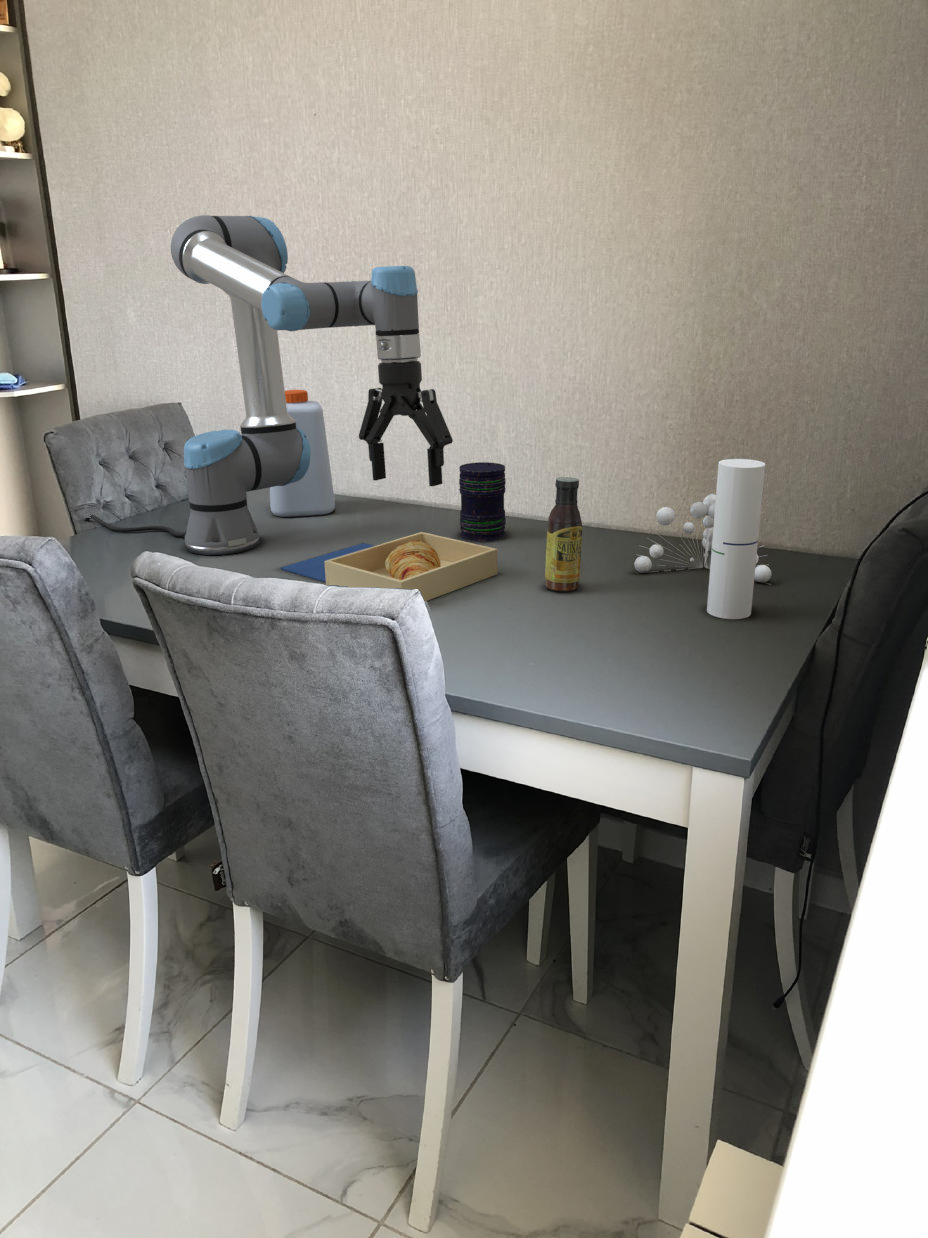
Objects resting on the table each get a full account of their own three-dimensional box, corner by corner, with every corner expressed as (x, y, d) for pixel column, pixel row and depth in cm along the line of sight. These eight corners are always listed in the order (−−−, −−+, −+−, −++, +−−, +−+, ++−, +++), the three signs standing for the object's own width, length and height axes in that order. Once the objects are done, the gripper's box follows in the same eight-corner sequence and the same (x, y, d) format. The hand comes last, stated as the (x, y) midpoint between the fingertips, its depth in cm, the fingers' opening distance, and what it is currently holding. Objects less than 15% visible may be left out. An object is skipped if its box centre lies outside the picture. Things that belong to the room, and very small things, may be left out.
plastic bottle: (271, 519, 224) (261, 396, 214) (270, 504, 238) (260, 388, 228) (336, 515, 227) (329, 393, 217) (332, 500, 241) (324, 386, 231)
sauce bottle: (556, 595, 171) (559, 484, 164) (538, 585, 176) (539, 477, 169) (587, 589, 173) (591, 480, 167) (568, 580, 179) (571, 473, 172)
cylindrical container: (743, 622, 157) (757, 469, 148) (700, 614, 160) (712, 465, 152) (756, 609, 163) (770, 461, 154) (714, 602, 166) (726, 457, 157)
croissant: (436, 612, 171) (456, 574, 169) (385, 591, 168) (405, 551, 166) (422, 574, 191) (440, 539, 189) (376, 554, 188) (394, 518, 186)
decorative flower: (609, 555, 193) (612, 485, 188) (713, 547, 198) (718, 479, 193) (658, 594, 170) (663, 516, 166) (774, 584, 175) (782, 508, 170)
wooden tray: (325, 587, 177) (324, 561, 175) (422, 555, 195) (421, 531, 193) (402, 610, 165) (401, 582, 163) (497, 574, 183) (497, 548, 181)
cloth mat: (280, 569, 187) (280, 567, 187) (363, 544, 203) (363, 542, 203) (329, 583, 179) (328, 581, 179) (411, 556, 194) (411, 554, 194)
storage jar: (490, 544, 202) (490, 473, 197) (451, 538, 207) (449, 469, 202) (513, 533, 210) (514, 464, 205) (475, 527, 215) (474, 460, 210)
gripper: (333, 362, 172) (343, 480, 179) (440, 362, 157) (447, 491, 164) (362, 359, 178) (371, 473, 185) (469, 359, 163) (474, 483, 170)
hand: (407, 482), depth 174 cm, fingers open, 13 cm apart
